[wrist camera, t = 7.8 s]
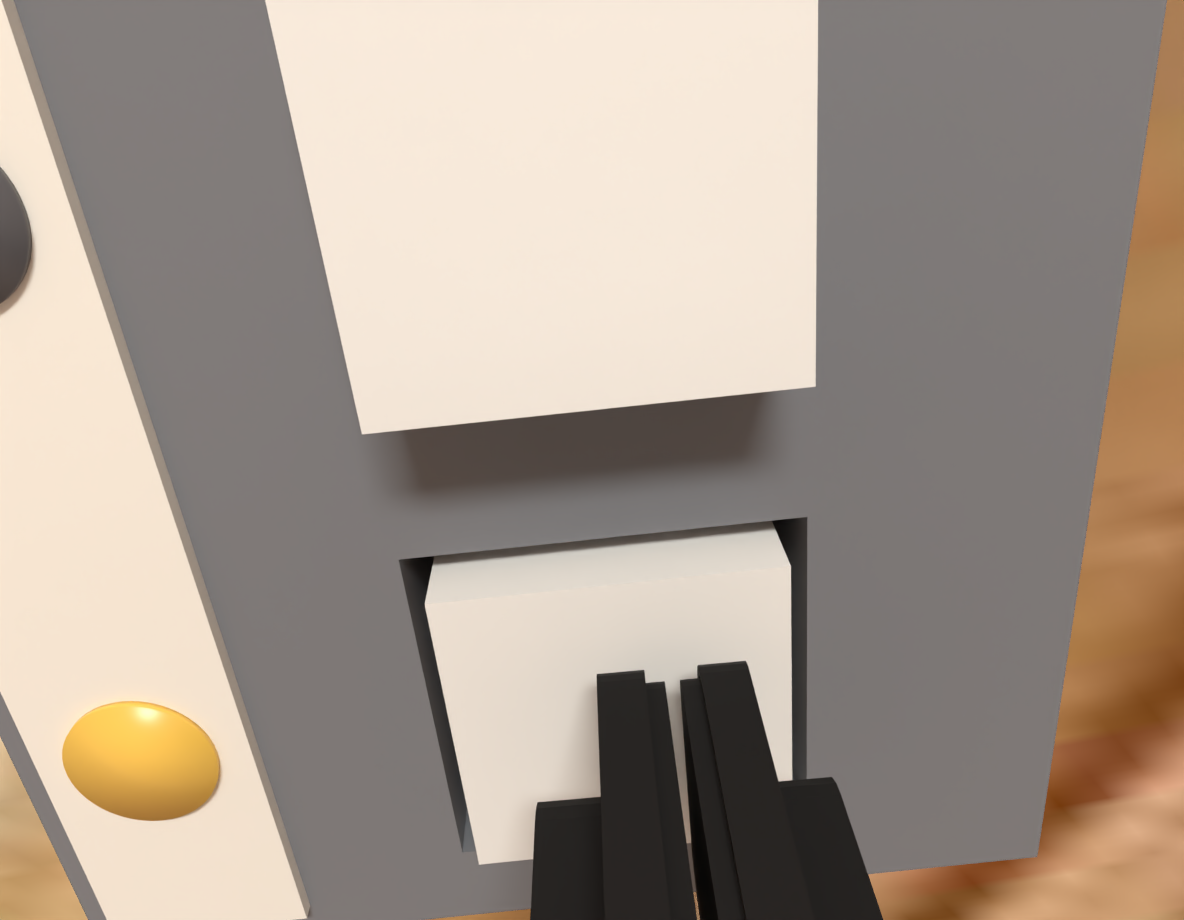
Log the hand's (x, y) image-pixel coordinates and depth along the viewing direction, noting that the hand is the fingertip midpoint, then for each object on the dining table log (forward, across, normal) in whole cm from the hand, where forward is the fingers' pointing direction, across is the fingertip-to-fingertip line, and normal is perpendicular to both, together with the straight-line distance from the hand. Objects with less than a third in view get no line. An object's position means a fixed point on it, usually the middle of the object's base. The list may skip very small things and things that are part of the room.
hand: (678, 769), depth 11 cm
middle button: (+2, +1, -7) cm, 7 cm away
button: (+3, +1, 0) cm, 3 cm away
